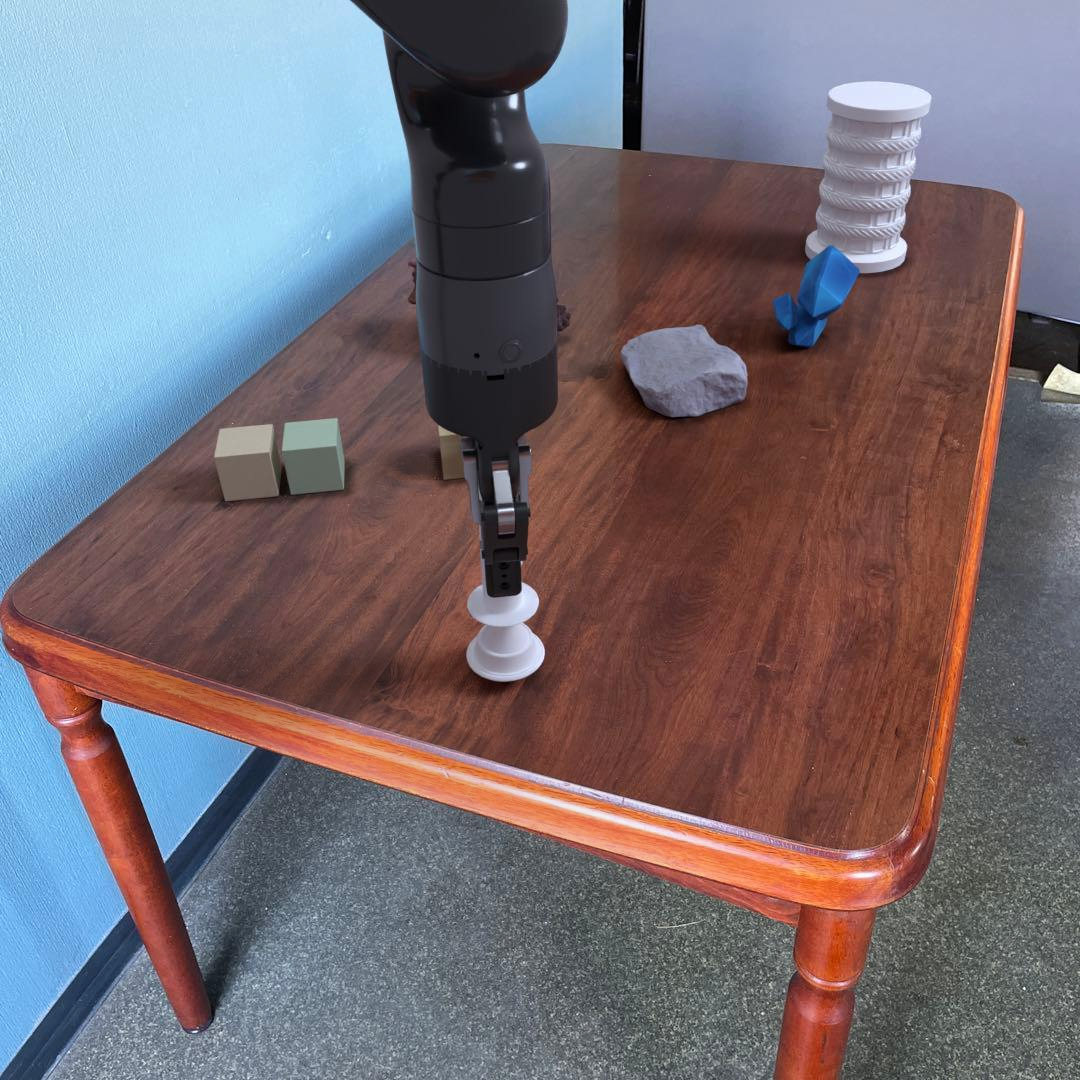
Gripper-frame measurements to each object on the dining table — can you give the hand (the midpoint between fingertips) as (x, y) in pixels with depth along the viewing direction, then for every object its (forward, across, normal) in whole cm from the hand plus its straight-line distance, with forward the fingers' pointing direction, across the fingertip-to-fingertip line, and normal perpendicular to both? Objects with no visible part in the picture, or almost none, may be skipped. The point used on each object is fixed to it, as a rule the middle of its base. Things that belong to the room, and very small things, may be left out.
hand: (501, 577), depth 69 cm
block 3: (+8, -26, -1) cm, 27 cm away
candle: (+7, 0, 0) cm, 7 cm away
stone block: (+8, -36, +20) cm, 42 cm away
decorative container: (+8, -63, +48) cm, 80 cm away
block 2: (+8, -26, -14) cm, 31 cm away
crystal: (+8, -44, +36) cm, 58 cm away
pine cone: (+8, -49, +3) cm, 50 cm away
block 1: (+8, -26, -19) cm, 33 cm away
